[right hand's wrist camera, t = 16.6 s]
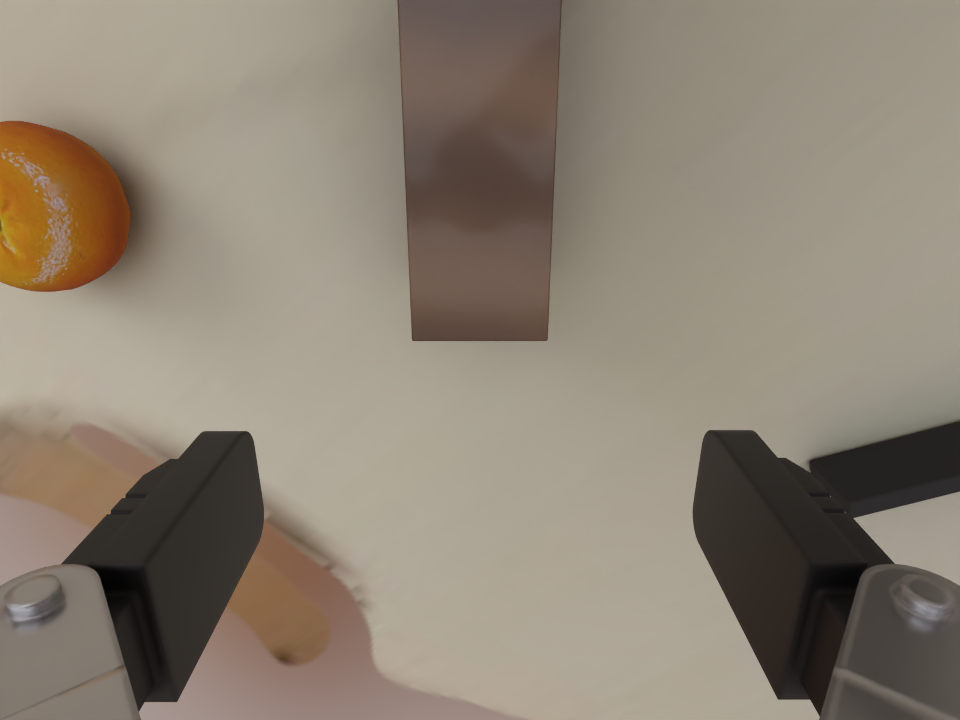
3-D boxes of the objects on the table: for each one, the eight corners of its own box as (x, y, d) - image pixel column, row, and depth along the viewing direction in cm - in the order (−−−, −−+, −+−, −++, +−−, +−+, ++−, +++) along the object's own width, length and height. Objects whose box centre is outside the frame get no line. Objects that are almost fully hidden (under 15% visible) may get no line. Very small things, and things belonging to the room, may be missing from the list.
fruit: (-111, 177, 32) (-130, 228, 27) (26, 74, 33) (34, 102, 28) (39, 285, 38) (49, 345, 33) (151, 195, 39) (178, 239, 34)
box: (529, 278, 38) (547, 341, 28) (430, 278, 38) (411, 341, 28) (544, -269, 29) (581, -485, 18) (414, -269, 29) (376, -485, 18)
